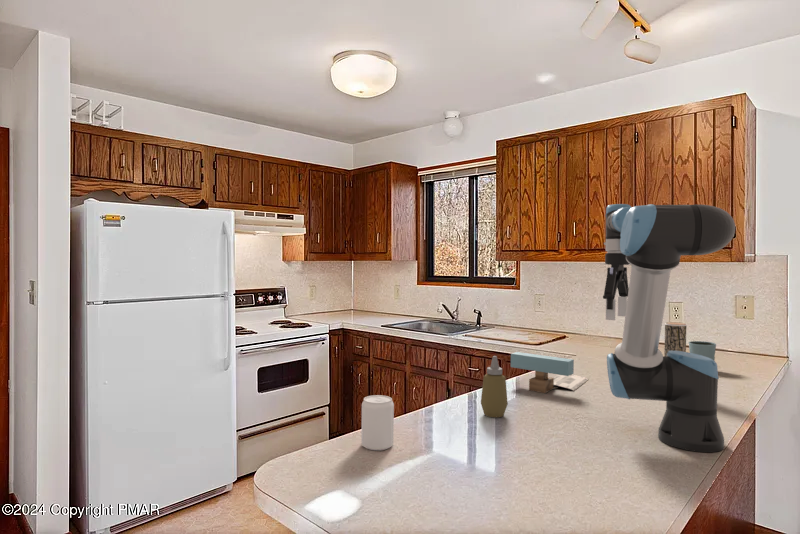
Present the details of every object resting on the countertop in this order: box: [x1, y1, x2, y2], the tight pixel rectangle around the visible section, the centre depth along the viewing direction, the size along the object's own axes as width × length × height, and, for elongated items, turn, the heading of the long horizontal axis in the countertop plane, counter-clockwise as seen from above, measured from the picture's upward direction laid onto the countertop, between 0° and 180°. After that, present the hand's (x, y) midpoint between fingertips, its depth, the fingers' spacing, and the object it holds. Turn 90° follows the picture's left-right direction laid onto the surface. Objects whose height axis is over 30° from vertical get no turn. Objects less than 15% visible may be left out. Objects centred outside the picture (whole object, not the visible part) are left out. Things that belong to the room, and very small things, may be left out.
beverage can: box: [360, 394, 395, 451], centre depth 132 cm, size 8×8×12 cm
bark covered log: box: [663, 321, 687, 356], centre depth 187 cm, size 7×7×25 cm
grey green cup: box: [688, 340, 717, 362], centre depth 225 cm, size 10×10×12 cm
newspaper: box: [553, 374, 589, 392], centre depth 200 cm, size 23×12×2 cm, turn 147°
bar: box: [510, 351, 575, 376], centre depth 190 cm, size 5×22×5 cm, turn 51°
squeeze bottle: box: [480, 355, 508, 418], centre depth 159 cm, size 8×8×18 cm
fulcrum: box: [528, 371, 554, 394], centre depth 190 cm, size 8×6×7 cm
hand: (616, 318), depth 169 cm, fingers open, 13 cm apart
